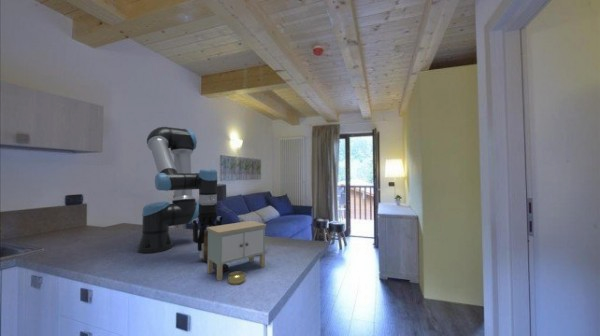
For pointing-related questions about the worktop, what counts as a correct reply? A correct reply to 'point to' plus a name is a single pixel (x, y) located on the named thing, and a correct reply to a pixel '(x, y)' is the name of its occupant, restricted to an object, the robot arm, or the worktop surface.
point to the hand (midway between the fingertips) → (206, 256)
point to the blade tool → (205, 241)
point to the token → (236, 278)
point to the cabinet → (235, 244)
